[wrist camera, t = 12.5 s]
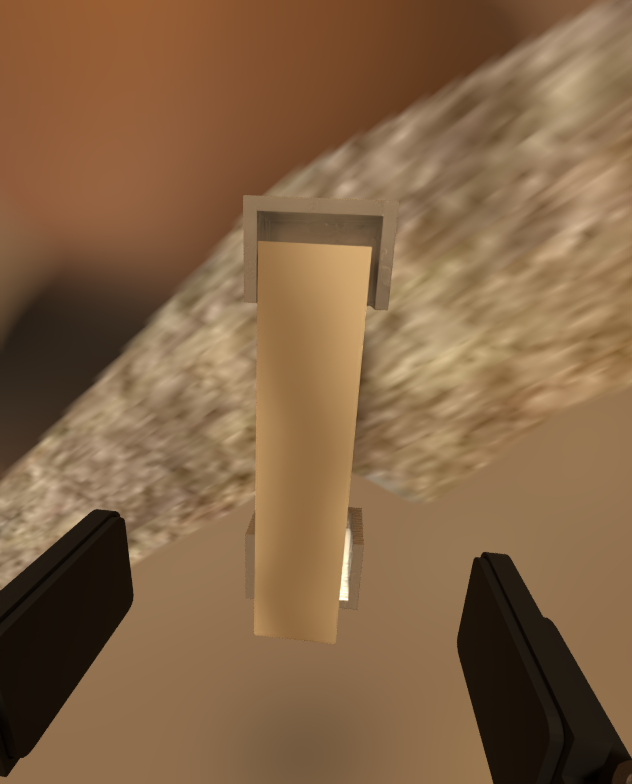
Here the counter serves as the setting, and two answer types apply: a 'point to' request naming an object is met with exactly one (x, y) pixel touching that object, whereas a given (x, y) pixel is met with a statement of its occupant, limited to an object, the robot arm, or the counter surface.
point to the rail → (305, 430)
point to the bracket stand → (377, 230)
